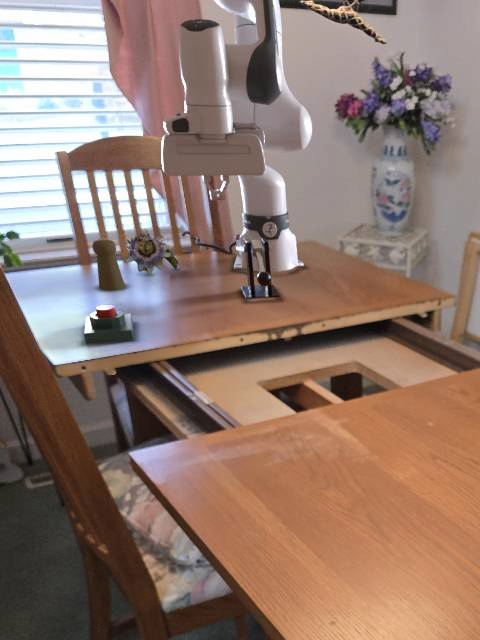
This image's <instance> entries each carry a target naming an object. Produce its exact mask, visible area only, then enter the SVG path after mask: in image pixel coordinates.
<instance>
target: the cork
mask: <svg viewBox="0 0 480 640" xmlns="http://www.w3.org/2000/svg"><path fill="white" fill-rule="evenodd" d="M92 250H93V253H94V254H95V255H96V263H97V264H96V265H97V276H98V289H99V290H100V291H104V292H115V291H121V290H123V289H125V288H126V284H125V282H124V281H125V280H124V279H123V278H124V277H123V275H122V273H121V272H122V271H121V269H120V266H119V262H118V260H117V257H116V252H117V246H116V242H114V240H112V239H109V238H98V239H95V240H93V242H92Z"/></svg>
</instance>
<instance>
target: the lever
mask: <svg viewBox="0 0 480 640" xmlns="http://www.w3.org/2000/svg"><path fill="white" fill-rule="evenodd" d="M251 250H252V254H253V257H256V258H257V263H258V267H259V271H260V272H259V273H258V274H257V276H256V281H257V284H258V285H261V286H268V285H269V284H270V283H271V284H272V275H271V276H270V274H269V273H267V272H265V269H264V265H263V261H262V244H261V240H251Z"/></svg>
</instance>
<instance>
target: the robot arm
mask: <svg viewBox="0 0 480 640" xmlns="http://www.w3.org/2000/svg"><path fill="white" fill-rule="evenodd" d="M213 1H214V2H215V3H216V4H217V5H218V7H220V8H222V9H223V10H224V11H225V12H227V13H230V14H232V15H234V43H225V39H224V34H223V30H222V26H221V24H220V23H219V22H217V21H215V20H211V19H204V18H200V19H199V18H198V19H187V20H185V21H183V22H181V24H179V28H178V29H179V30H178V56H179V69H180V77H181V80H182V83H183V86H184V111H183V112H179V113H176V114H175V115H172V116H168V117H166V118H165V119H163V122H162V123H163V129H164V131H165V132H166V133H164V134H163V136H162V138H161V139H162V140H161V165H162V171H163V172H164V173H165V174H166V176H168V177H202V181H203V183H204V185H205V186H206V188H207V190H208V191H209V197H210V201H226V200H227V199H226V198H227V197H226V191H227V189H228V186H229V184H230V176H232V177H233V176H237V177H238V181H239V185H240V191H241V198H242V207H243V208H242V209H243V211H242V212H241V216H242V217H241V221H242V227H243V231H242V232H241V234H236V235H235V241H233V242H231V243H230V244H229V245H228V249H226V248H224V247H222V246H220V245H216V244H211V243H203V242H199V241H200V237H199V236H198V235H196V236H194V235H191V234H190V232H191V231H189V230H184V231H183V232H182V233H181V237H185V235H190V236H192V237H193V238H194V239H195V242H194V243H195V244H196V245H198V246H200V247H205V248H212V249H217V250H220V251H221V252H224V253H227V254H232V253H233V252H234V251H233V247H234V246H235V248H236V251H238V253H237V255H236V257H235V262H234V264H233V270H237V269H239V270H240V269H244V270H247V266H246V255H245V252H244V249H243V246H244V245H245V244H244V238H248V239H249V241H250V242H251V240H261V238H266V239H267V241H268V244H269V245H270V251H269V258H270V271H271V273H279V272H285V271H289V270H293V269H295V268H296V267H304V266H305V263H304V262H302V261H301V260H299V259H298V249H297V238H296V235H295V234H294V232H292V231H291V230H290V215H289V212H288V210H287V208H288V207H287V194H286V193H287V191H286V190H287V189H286V182H285V180H284V177H283V176H282V175H281V173H279V172H278V171H277V170H275V169H273V168H272V167H270V166H269V165H267V164H266V159H265V153H282V154H283V153H284V154H287V153H293V152H299V151H304V150H305V149H306V148H307V147H308V145H309V144H310V142H311V139H312V136H313V123H312V118H311V115H310V113H309V112H308V110H307V109H306V107H305V106H304V105H303V104H302V103H300V101H298V100H297V99H296V97H295V96H294V95H293V93H292V91H291V90H290V88H289V86H288V83H287V80H286V77H285V73H284V63H283V61H284V60H283V26H282V14H281V13H282V11H281V6H280V0H213ZM213 176H214V177H215V176H216V177H219V176H220V180H221V181H222V182H223V183H222V185H221V186H220V187H221V188H220V189H213V188H212V186H211V184H210V182H211V181H212V180H211V177H213ZM261 244H262V242H261ZM262 261H263V255H262ZM252 262H253V272H259V273H260V271H259V267H258V263H257V258H256V257H253V254H252Z"/></svg>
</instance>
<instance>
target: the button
mask: <svg viewBox="0 0 480 640" xmlns="http://www.w3.org/2000/svg"><path fill="white" fill-rule="evenodd" d="M115 310H116V308H115V305H113V304H101V305H97V306H96V307H95V311H96V312H97V317H100V318H107V317H113V316H116V312H115Z"/></svg>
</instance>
